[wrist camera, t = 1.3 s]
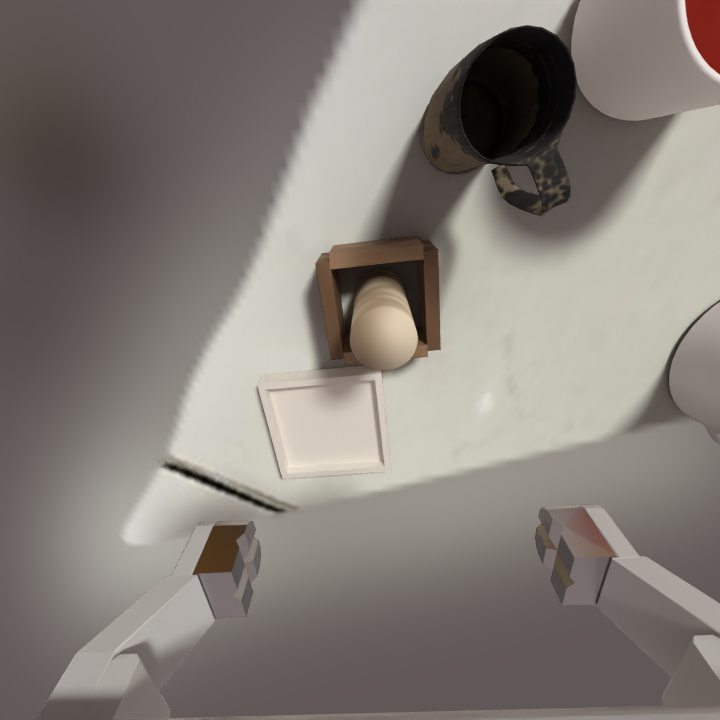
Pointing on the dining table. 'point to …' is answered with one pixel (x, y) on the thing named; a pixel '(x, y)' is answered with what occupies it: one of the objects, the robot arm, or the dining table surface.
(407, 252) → the holder
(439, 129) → the mug
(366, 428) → the tray
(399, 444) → the dining table surface
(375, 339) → the dowel
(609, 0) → the cup
